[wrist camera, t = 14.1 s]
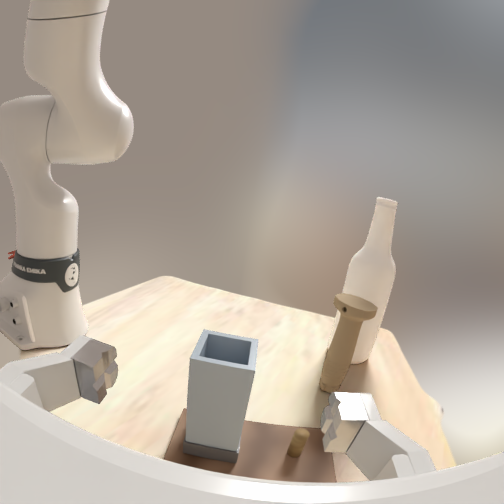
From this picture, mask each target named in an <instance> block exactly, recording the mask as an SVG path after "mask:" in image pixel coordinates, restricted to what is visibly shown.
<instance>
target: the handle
mask: <svg viewBox="0 0 504 504" xmlns="http://www.w3.org/2000/svg"><path fill="white" fill-rule="evenodd" d="M334 305H335V307H336V308H337V309H338V310H339V312H340V314H341V315H340V319H339V323H338V326H337V328H336V331H335V334H334V337H333V339H332V342H331V345H330V347H329V350H328V352H327V355H326V358H325V361H324V365H323V369H322V374H321V378H320V382H319V385H320V386H321V390H322V391H326V392H329V393H332V392H334V391H338V389H339V388H340V386H341V385H340V384H341V383H342V381H343V379H344V378H345V376H346V374H347V372H348V369H349V367H350V364H351V361H352V358H353V354H354V351H355V347H356V343H357V340H358V336H359V333H360V329H361V326H362V323H363V321H365V320H370V319H372V318H374V317H375V315H376V312H377V309H378V307H376V306H375V305H374V304H373V303H371V302H369V301H367V300H365V299H363V298H361V297H358V296H355V295H351V294H346V293H341V294H337V295H336V296H335V299H334Z"/></svg>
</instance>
